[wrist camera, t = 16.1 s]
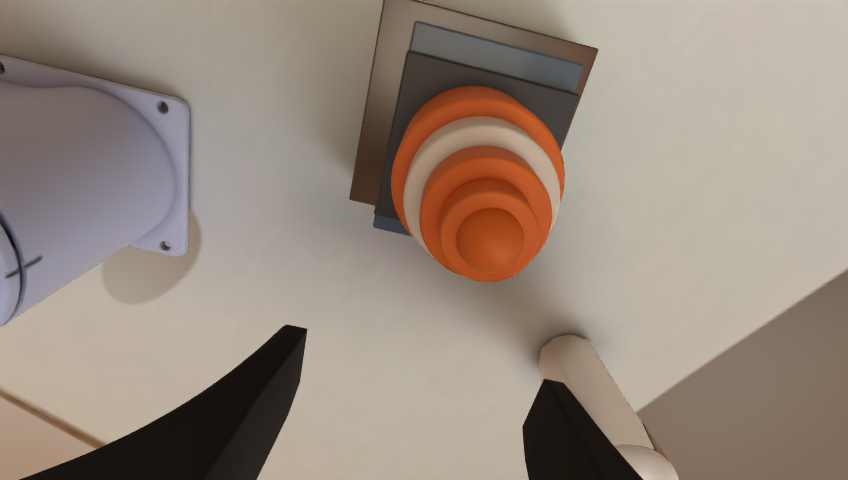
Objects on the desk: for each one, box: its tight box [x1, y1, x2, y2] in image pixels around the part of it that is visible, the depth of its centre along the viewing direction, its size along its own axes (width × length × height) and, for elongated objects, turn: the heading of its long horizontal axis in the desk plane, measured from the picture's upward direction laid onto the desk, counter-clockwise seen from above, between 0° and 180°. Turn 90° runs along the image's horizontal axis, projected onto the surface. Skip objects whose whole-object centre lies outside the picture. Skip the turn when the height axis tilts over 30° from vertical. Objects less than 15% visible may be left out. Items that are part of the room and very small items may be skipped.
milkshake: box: [538, 334, 679, 480], centre depth 20 cm, size 4×5×10 cm
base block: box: [349, 0, 598, 206], centre depth 18 cm, size 8×8×2 cm
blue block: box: [373, 20, 583, 236], centre depth 15 cm, size 5×6×4 cm
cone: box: [374, 50, 579, 282], centre depth 10 cm, size 5×5×7 cm
